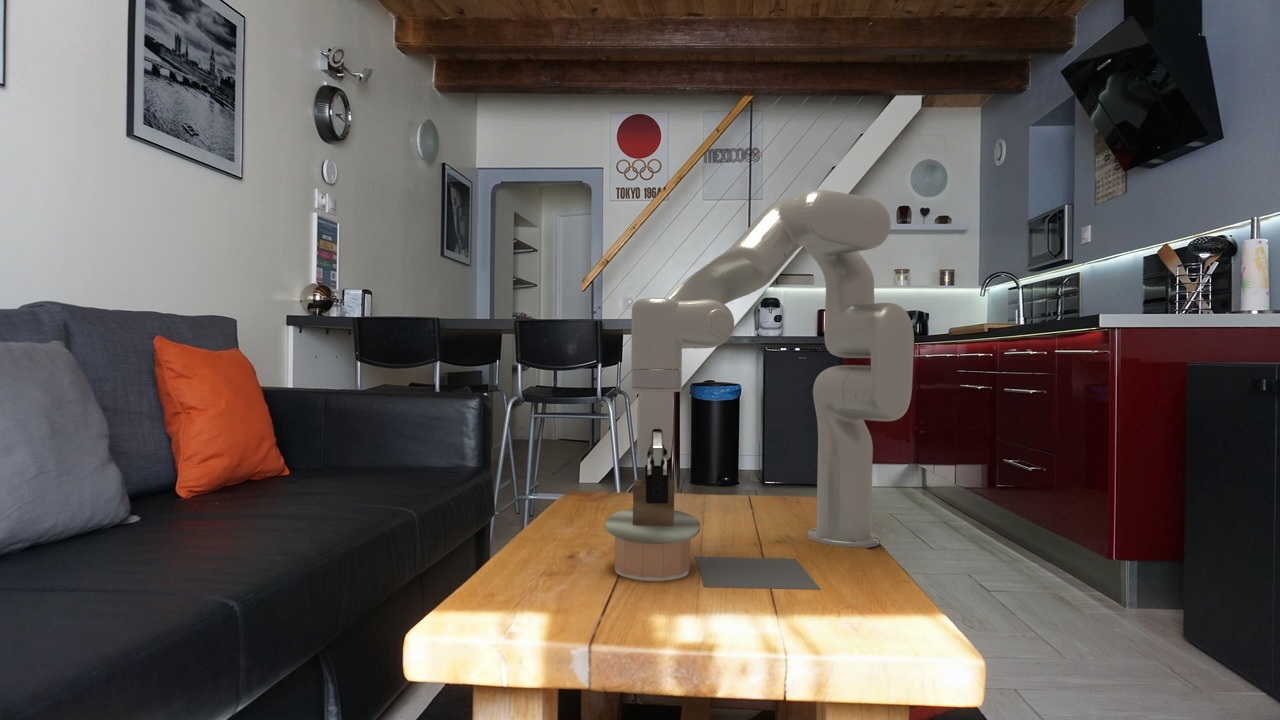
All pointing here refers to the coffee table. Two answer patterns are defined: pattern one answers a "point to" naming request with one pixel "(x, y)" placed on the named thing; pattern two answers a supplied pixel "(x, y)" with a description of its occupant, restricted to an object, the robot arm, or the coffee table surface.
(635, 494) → the lid
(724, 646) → the coffee table surface
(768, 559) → the mat
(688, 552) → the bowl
